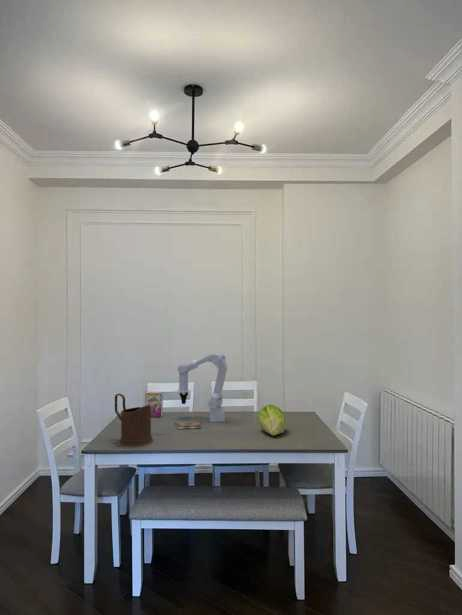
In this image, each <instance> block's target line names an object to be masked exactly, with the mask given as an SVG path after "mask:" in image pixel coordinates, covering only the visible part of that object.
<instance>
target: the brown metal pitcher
mask: <svg viewBox="0 0 462 615" xmlns="http://www.w3.org/2000/svg"><path fill="white" fill-rule="evenodd" d="M118 396H120V397H121V398H122V410H121V412H119V411H118ZM114 413H115V414H116V415H117V417H118V419H119V420H120V422H121V425H120V427H121V428H120V429H121V432H120V434H121V435H120V439H119V442H118V444H119V445H120V446H123V447H143V446H147V445H150V444H152V443H153V442H154V439H153V436H152V419H151V418H152V417H151V405H147V406H145V405H143V406H138V407H137V406H135V407H131V408H126V398H125V395H124V394H122V393H116V394H114ZM142 445H143V446H142Z"/></svg>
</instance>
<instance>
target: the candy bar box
mask: <svg viewBox="0 0 462 615" xmlns="http://www.w3.org/2000/svg"><path fill="white" fill-rule="evenodd" d="M163 394H164V393H163V391H146V392H145V393H144V402H145V403H144V406H147V405H151V418H162V417H164V416H163V415H164V414H163V413H164V412H163V411H164V409H163V408H164V407H163V405H164V404H163V403H164V400H163V398H164V397H163V396H164V395H163Z"/></svg>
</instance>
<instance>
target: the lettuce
mask: <svg viewBox="0 0 462 615" xmlns="http://www.w3.org/2000/svg"><path fill="white" fill-rule="evenodd" d="M257 416H258V417H257V420H258V424H259V425H260V428H261V429H262V430H263V431H264V432H266V433H267V434H269V435H271V436H276V435H279V434H282V433H284V432H285V430H286V427H287V423H286V418H285V416H284V413H283V411H282V410H281V408H280V407H278V406H276V405H274V404H268V405H265V406H263V407H261V408H260V410H259V412H258V415H257Z"/></svg>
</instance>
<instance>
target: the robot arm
mask: <svg viewBox="0 0 462 615" xmlns="http://www.w3.org/2000/svg"><path fill="white" fill-rule="evenodd" d="M226 358H227V357H226V356H225V354H223V352H217V353H212V354H207V355H204V356H203V357H201V358H198V359H197V360H196V359H190V361H187V362H184V363H183V364H180V365H178V366H177V372H178V373H179V374H178V380H179V382H178V384H179V386H178V388H179V389H177V390H176V391H177V392H179V396H180V400H181V404H182V405H186V403H187V397H188V396H189V372H191V371H194V370H195V369H197V368H198V367H199V366H200V365H202V364H205V363H207V362H209V363H212V364H213V365H214V366H216V368H217V369H218V370H217V375H216V380H215V383H214V388H213V393H212V394H211V395H210V399H209V400H208V401H207V402H208V403H207V405H208V407H209V421H210V422H211V423H219V422H223V424H225V422H226V421H225V420H226V418H225V417H226V416H225V408H222V405H223V394H222V393H223V389H224V383H225V380H226V376H227V370H228V364H227V361H226V360H227V359H226Z"/></svg>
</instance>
